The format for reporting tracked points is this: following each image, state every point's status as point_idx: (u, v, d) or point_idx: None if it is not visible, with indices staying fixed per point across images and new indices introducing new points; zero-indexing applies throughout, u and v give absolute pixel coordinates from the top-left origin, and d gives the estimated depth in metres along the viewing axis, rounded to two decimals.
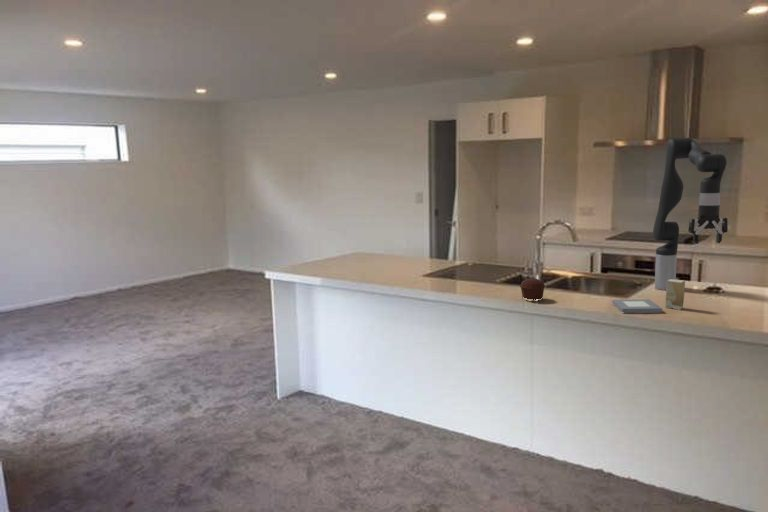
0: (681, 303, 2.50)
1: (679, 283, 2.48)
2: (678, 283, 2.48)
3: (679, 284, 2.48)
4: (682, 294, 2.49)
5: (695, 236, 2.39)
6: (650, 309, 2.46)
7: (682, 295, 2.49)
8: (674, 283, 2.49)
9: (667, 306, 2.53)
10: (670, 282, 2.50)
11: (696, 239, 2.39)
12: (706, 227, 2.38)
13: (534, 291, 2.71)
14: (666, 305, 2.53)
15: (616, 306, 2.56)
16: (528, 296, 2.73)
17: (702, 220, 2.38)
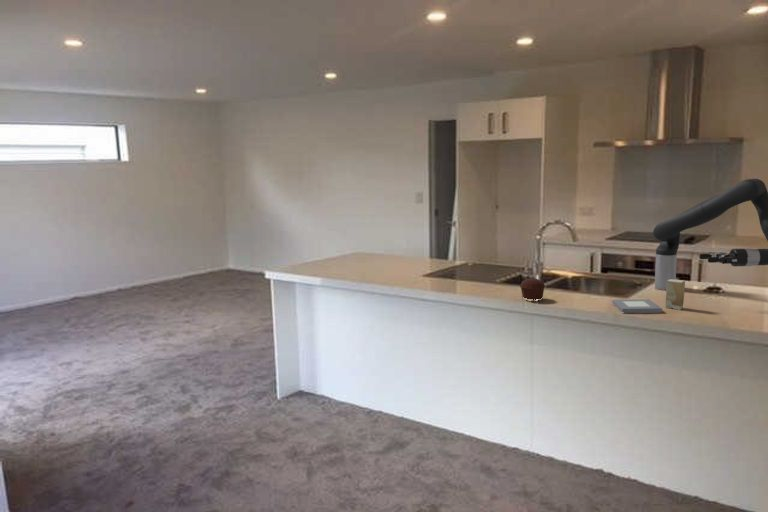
0: (681, 303, 2.50)
1: (679, 283, 2.48)
2: (678, 283, 2.48)
3: (679, 284, 2.48)
4: (682, 294, 2.49)
5: (716, 261, 2.43)
6: (650, 309, 2.46)
7: (682, 295, 2.49)
8: (674, 283, 2.49)
9: (667, 306, 2.53)
10: (670, 282, 2.50)
11: (712, 262, 2.43)
12: None
13: (534, 291, 2.71)
14: (666, 305, 2.53)
15: (616, 306, 2.56)
16: (528, 296, 2.73)
17: None
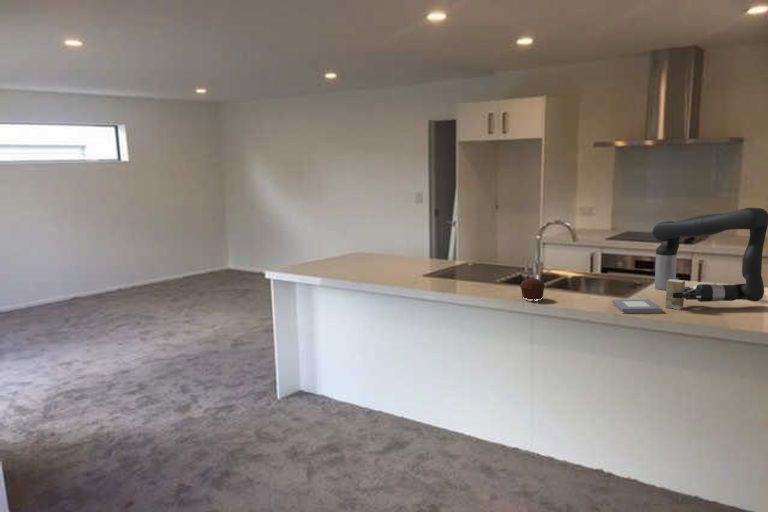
0: (681, 303, 2.50)
1: (679, 283, 2.48)
2: (678, 283, 2.48)
3: (679, 284, 2.48)
4: None
5: None
6: (650, 309, 2.46)
7: None
8: (674, 283, 2.49)
9: (667, 306, 2.53)
10: (670, 282, 2.50)
11: (677, 297, 2.48)
12: None
13: (534, 291, 2.71)
14: (666, 305, 2.53)
15: (616, 306, 2.56)
16: (528, 296, 2.73)
17: None
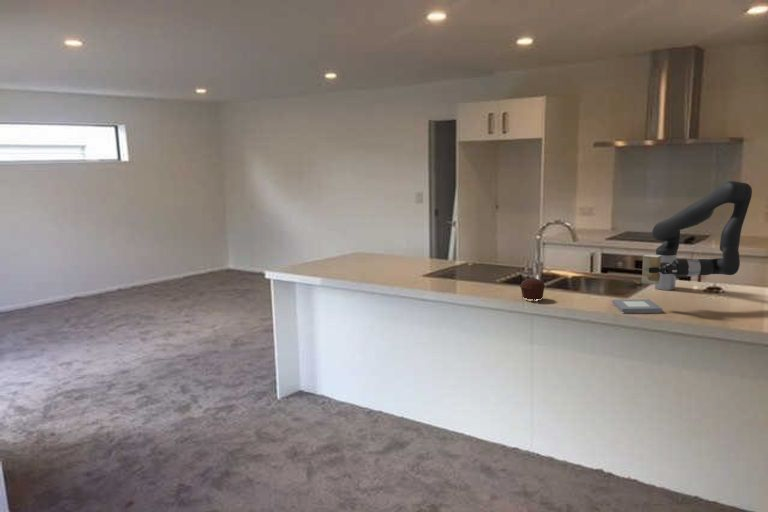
0: (658, 277, 2.49)
1: (655, 258, 2.47)
2: (654, 258, 2.47)
3: (655, 259, 2.47)
4: None
5: (656, 271, 2.46)
6: (650, 309, 2.46)
7: None
8: (650, 258, 2.48)
9: (643, 281, 2.52)
10: (646, 257, 2.49)
11: (653, 272, 2.47)
12: None
13: (534, 291, 2.71)
14: (643, 280, 2.52)
15: (616, 306, 2.56)
16: (528, 296, 2.73)
17: None
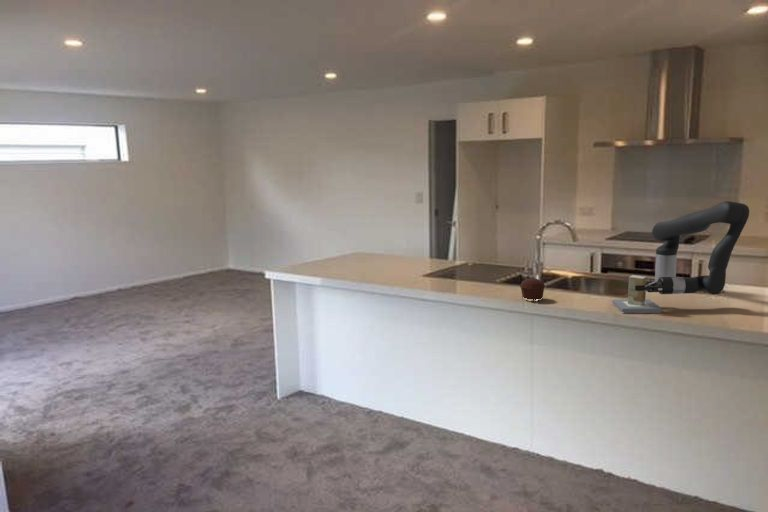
0: (643, 298, 2.51)
1: (640, 279, 2.49)
2: (639, 279, 2.49)
3: (640, 280, 2.49)
4: (644, 290, 2.51)
5: (643, 290, 2.48)
6: (650, 309, 2.46)
7: (644, 291, 2.51)
8: (636, 279, 2.51)
9: (629, 302, 2.54)
10: (632, 278, 2.52)
11: (639, 290, 2.49)
12: None
13: (534, 291, 2.71)
14: (628, 301, 2.54)
15: (616, 306, 2.56)
16: (528, 296, 2.73)
17: None
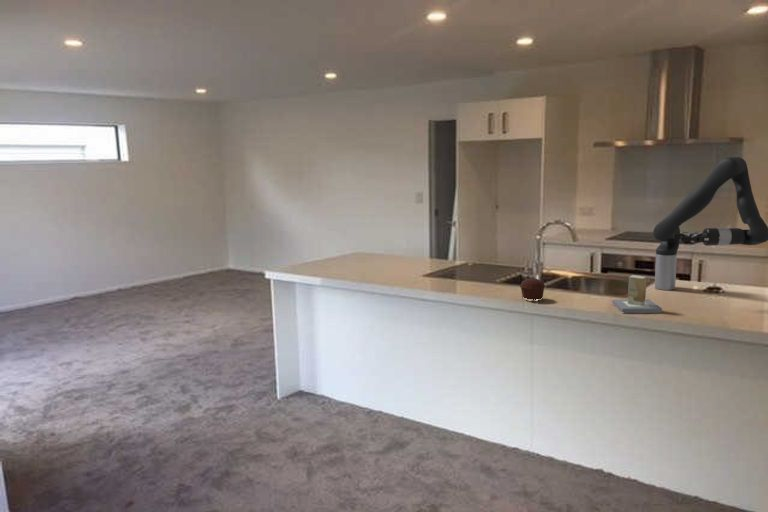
0: (643, 298, 2.51)
1: (640, 279, 2.49)
2: (639, 279, 2.49)
3: (640, 280, 2.49)
4: (644, 290, 2.51)
5: (689, 240, 2.48)
6: (650, 309, 2.46)
7: (644, 291, 2.51)
8: (636, 279, 2.51)
9: (629, 302, 2.54)
10: (632, 278, 2.52)
11: (685, 241, 2.49)
12: None
13: (534, 291, 2.71)
14: (628, 301, 2.54)
15: (616, 306, 2.56)
16: (528, 296, 2.73)
17: None
